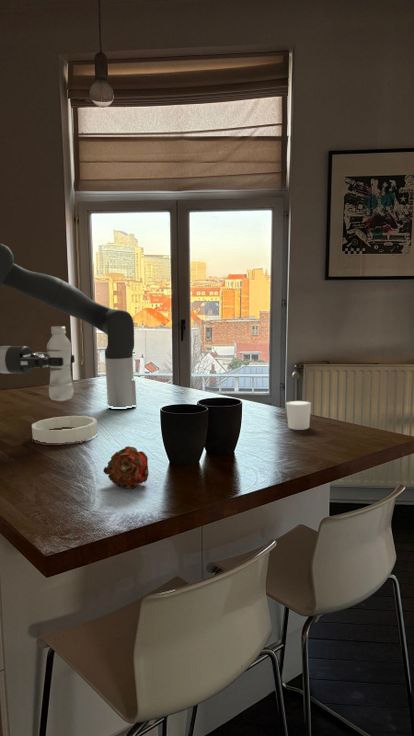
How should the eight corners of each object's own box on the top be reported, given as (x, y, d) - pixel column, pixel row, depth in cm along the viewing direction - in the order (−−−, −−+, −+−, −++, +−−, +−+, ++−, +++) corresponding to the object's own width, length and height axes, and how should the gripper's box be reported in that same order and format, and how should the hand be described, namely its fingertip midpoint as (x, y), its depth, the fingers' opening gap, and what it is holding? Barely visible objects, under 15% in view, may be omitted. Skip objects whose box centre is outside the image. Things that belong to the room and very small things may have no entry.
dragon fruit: (133, 504, 106) (120, 493, 118) (165, 473, 109) (150, 465, 120) (103, 472, 105) (93, 463, 116) (137, 440, 107) (124, 435, 118)
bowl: (93, 427, 163) (92, 413, 162) (101, 441, 147) (100, 426, 146) (32, 433, 158) (31, 419, 157) (33, 448, 142) (32, 433, 141)
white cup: (311, 430, 151) (310, 405, 150) (285, 430, 153) (285, 405, 152) (311, 424, 158) (311, 400, 157) (287, 424, 159) (286, 400, 159)
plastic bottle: (43, 401, 149) (39, 327, 147) (61, 397, 155) (57, 325, 153) (62, 403, 146) (58, 327, 144) (79, 399, 152) (76, 326, 150)
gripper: (-5, 348, 145) (55, 349, 141) (24, 343, 159) (79, 343, 155) (-3, 377, 146) (56, 378, 142) (26, 369, 160) (80, 370, 156)
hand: (68, 360), depth 149 cm, fingers closed on plastic bottle, 6 cm apart
